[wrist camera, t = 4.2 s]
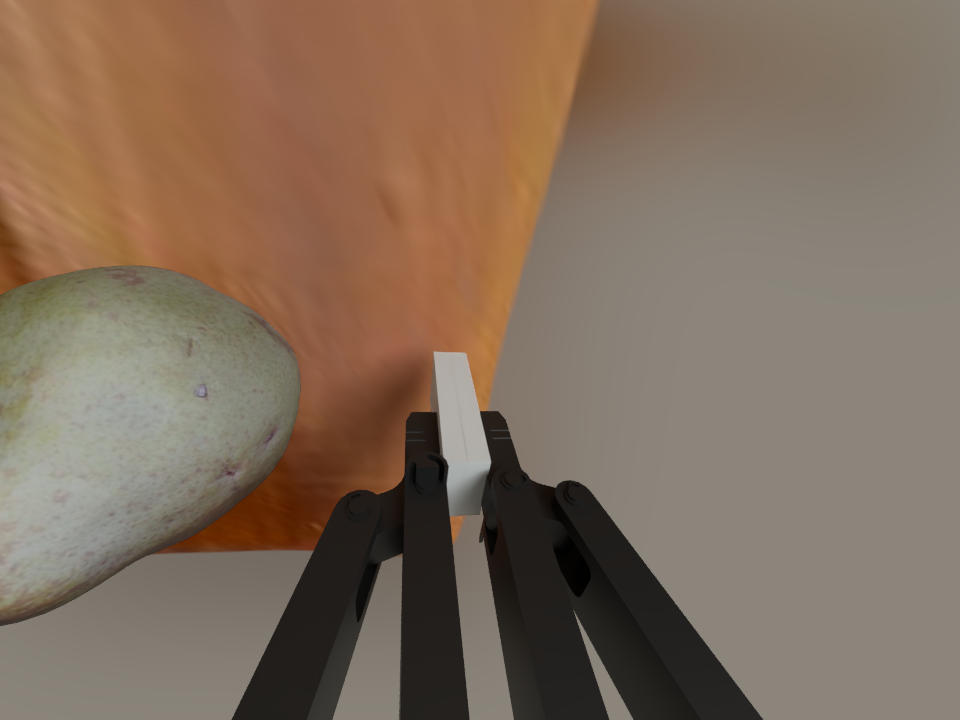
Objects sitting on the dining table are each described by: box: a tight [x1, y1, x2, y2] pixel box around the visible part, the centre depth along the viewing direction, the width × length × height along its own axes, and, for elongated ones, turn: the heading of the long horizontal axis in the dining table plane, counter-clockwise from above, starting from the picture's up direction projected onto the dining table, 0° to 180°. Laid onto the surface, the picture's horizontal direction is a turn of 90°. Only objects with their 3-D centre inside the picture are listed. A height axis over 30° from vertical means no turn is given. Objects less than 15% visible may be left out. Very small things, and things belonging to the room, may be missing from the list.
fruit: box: [0, 265, 301, 626], centre depth 12 cm, size 10×9×12 cm
